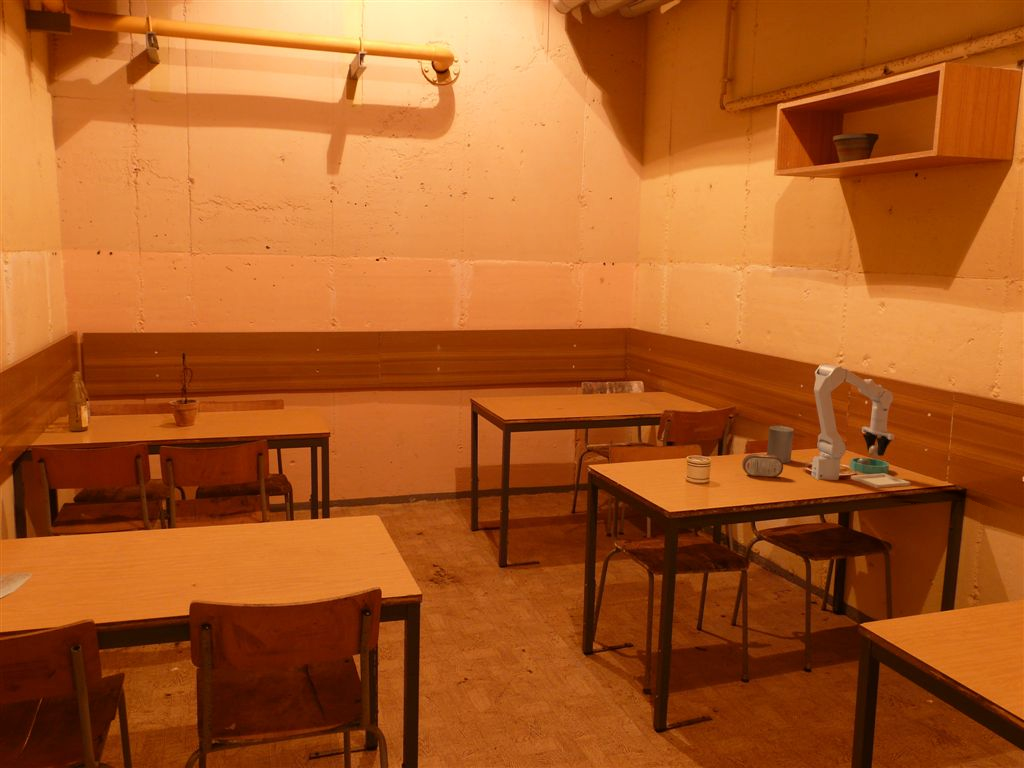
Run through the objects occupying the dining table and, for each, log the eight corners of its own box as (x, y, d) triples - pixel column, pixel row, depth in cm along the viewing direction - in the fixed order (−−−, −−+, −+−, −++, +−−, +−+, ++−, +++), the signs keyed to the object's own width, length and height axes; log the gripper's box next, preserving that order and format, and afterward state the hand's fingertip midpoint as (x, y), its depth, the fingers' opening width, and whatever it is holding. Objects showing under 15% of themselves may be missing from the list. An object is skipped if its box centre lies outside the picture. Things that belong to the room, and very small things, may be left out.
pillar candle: (762, 457, 345) (765, 422, 343) (783, 457, 347) (786, 422, 345) (773, 463, 336) (776, 428, 333) (795, 463, 338) (798, 427, 335)
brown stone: (873, 458, 316) (873, 445, 315) (866, 456, 320) (866, 444, 320) (884, 457, 316) (884, 445, 316) (877, 456, 321) (877, 443, 321)
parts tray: (876, 489, 302) (877, 485, 301) (850, 480, 314) (851, 475, 313) (910, 487, 307) (910, 482, 307) (883, 477, 319) (884, 473, 319)
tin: (781, 476, 316) (783, 455, 315) (783, 478, 313) (785, 457, 311) (741, 474, 317) (742, 452, 316) (742, 476, 314) (744, 454, 313)
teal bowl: (859, 476, 321) (860, 466, 320) (843, 466, 335) (844, 457, 334) (894, 476, 321) (895, 466, 321) (877, 467, 335) (878, 458, 335)
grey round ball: (861, 468, 324) (860, 456, 325) (855, 469, 329) (854, 457, 330) (873, 468, 325) (872, 456, 325) (867, 469, 329) (866, 457, 330)
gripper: (901, 422, 311) (898, 457, 313) (873, 415, 324) (869, 448, 326) (887, 423, 308) (883, 458, 311) (859, 416, 322) (855, 449, 324)
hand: (875, 453), depth 318 cm, fingers closed on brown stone, 5 cm apart
